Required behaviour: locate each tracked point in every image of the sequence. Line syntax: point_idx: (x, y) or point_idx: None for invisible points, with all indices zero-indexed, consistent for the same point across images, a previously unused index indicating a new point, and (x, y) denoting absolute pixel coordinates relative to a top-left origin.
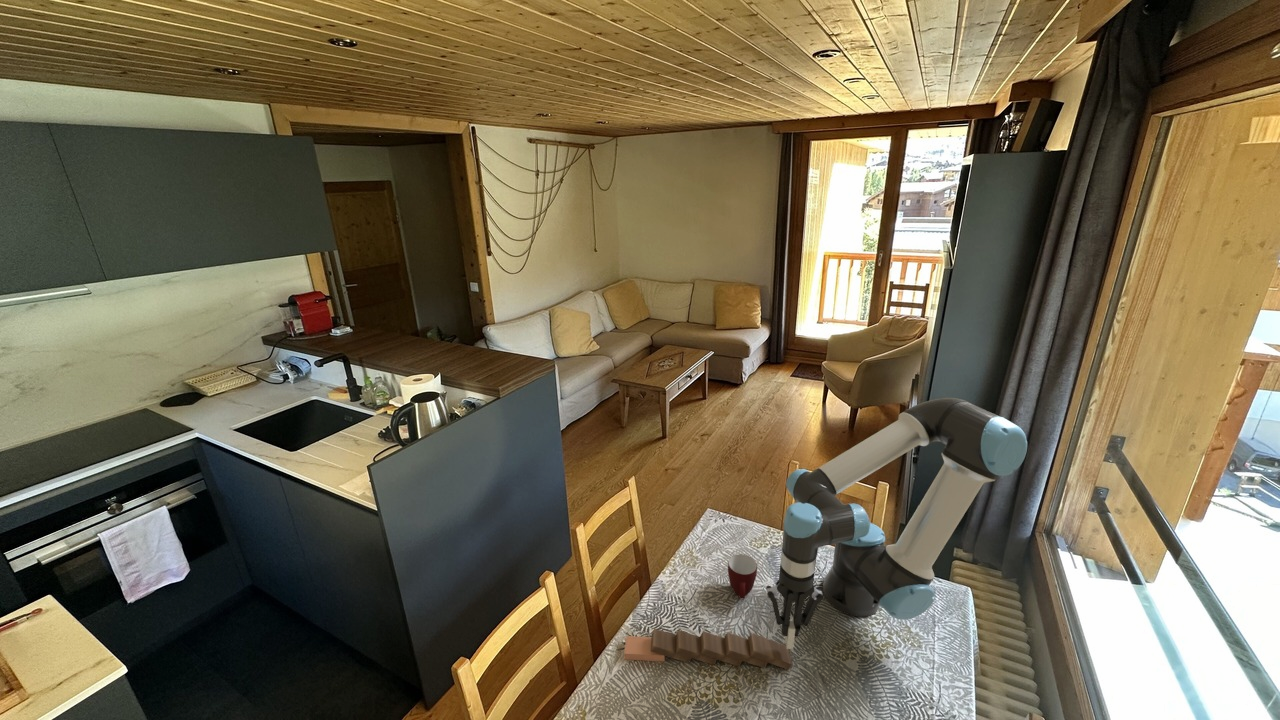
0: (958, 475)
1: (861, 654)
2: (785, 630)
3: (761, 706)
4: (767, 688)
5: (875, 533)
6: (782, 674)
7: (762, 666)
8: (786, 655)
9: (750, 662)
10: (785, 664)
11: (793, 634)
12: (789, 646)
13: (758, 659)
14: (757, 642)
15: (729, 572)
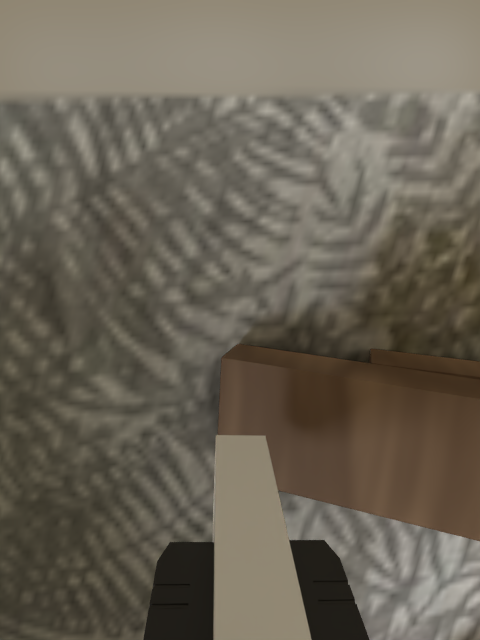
0: None
1: None
2: (328, 615)
3: (453, 111)
4: (386, 226)
5: None
6: (278, 315)
7: (387, 352)
8: (245, 412)
9: (470, 362)
10: (262, 357)
11: (230, 568)
12: (248, 450)
13: (440, 372)
14: (462, 477)
15: None
